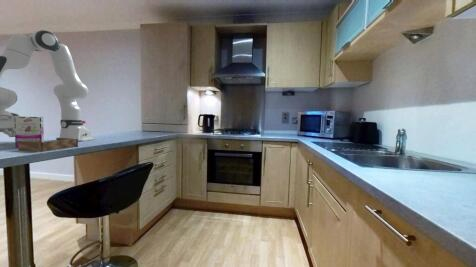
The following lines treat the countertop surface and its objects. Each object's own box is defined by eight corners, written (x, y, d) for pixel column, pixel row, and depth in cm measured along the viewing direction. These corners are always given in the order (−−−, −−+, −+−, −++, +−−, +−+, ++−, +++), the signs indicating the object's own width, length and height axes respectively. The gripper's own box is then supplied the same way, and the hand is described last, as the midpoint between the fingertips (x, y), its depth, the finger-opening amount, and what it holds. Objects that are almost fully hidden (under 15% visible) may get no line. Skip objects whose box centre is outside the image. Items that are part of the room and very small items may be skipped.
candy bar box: (44, 145, 134) (43, 116, 132) (41, 147, 129) (41, 117, 128) (18, 146, 128) (17, 116, 127) (14, 147, 124) (14, 116, 123)
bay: (58, 145, 138) (58, 137, 138) (77, 146, 136) (77, 138, 136) (18, 149, 117) (18, 140, 117) (40, 151, 115) (40, 142, 115)
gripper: (-22, 113, 120) (-6, 133, 119) (21, 114, 140) (35, 131, 139) (-29, 121, 121) (-13, 141, 120) (15, 121, 141) (29, 138, 140)
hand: (13, 136), depth 130 cm, fingers closed
